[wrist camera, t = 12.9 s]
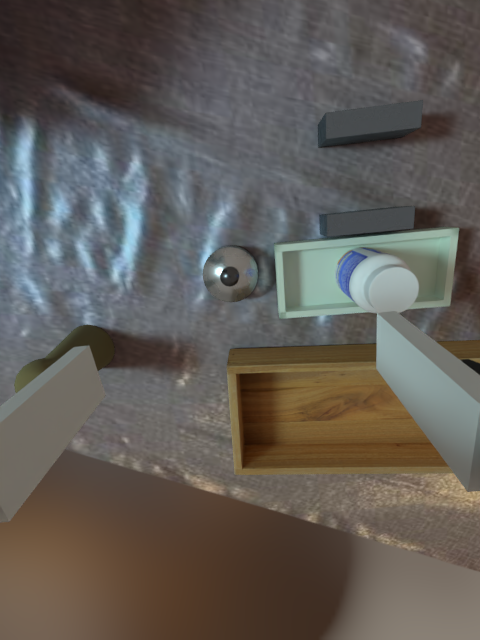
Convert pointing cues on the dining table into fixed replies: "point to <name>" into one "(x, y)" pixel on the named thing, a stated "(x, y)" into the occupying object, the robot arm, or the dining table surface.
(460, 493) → the dining table surface
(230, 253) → the silver pot lid
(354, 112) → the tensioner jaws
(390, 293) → the pill bottle
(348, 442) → the tray
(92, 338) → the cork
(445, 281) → the tray
